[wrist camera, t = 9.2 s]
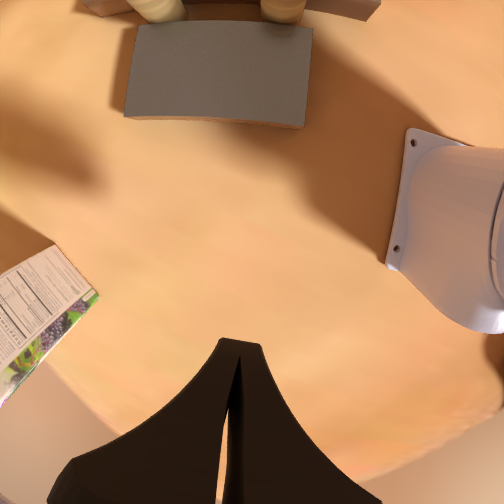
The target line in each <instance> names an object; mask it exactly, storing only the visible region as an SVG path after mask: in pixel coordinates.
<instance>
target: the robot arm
mask: <svg viewBox="0 0 504 504" xmlns="http://www.w3.org/2000/svg"><path fill="white" fill-rule="evenodd" d="M412 139H413V140H414V142H415V144H414V146H412V145H411V140H412ZM396 245H398V249H397V250H396V251H393V249H394V247H395V246H396ZM385 265H386V267H387V268H388V269H389V270H395V271H400V272H401V273H402V274H403V275H404V276H405V277H406V278H407V279H408V280H409V281H410V282H411V283H412V284H413V285H414V286H415V287H416V288H417V289H418V290H419V291H420V292H421V293H422V294H423V295H424V296H425V297H426V298H427V299H428V300H429V301H430V302H431V303H432V304H433V305H434V306H435V307H436V308H437V309H438V310H439V311H440V312H441V313H442V314H444V315H445V316H446V317H448V318H449V319H451V320H453V321H454V322H456V323H458V324H460V325H462V326H464V327H466V328H468V329H471V330H474V331H478V332H482V333H488V334H500V333H504V149H498V148H486V147H472V146H467V145H464V144H461V143H459V142H456V141H453V140H451V139H448V138H445V137H442V136H439V135H436V134H433V133H430V132H427V131H424V130H420V129H417V128H409V129H408V130H407V131H406V137H405V147H404V157H403V165H402V173H401V180H400V187H399V194H398V200H397V206H396V211H395V217H394V222H393V227H392V232H391V237H390V242H389V247H388V251H387V256H386V260H385ZM227 411H228V436H227V467H226V476H225V484H224V491H223V499H222V504H382V501H381V500H379V499H378V498H376V497H375V496H373V495H372V494H370V493H369V492H367V491H366V490H365V489H363V488H362V487H360V486H359V485H358V484H356V483H355V482H353V481H352V480H351V479H350V478H349V477H347V476H346V475H345V474H344V473H343V472H342V471H341V470H339V469H338V468H337V467H336V466H335V465H334V464H333V463H332V462H331V461H330V460H329V459H328V458H327V457H326V455H325V454H324V453H323V452H322V451H321V450H320V449H319V448H318V447H317V446H316V445H315V444H314V442H313V441H312V440H311V439H310V437H309V436H308V435H307V434H306V432H305V431H304V430H303V428H302V427H301V426H300V424H299V423H298V421H297V420H296V418H295V417H294V415H293V414H292V412H291V411H290V409H289V407H288V406H287V404H286V402H285V400H284V399H283V397H282V395H281V393H280V391H279V389H278V387H277V385H276V383H275V381H274V379H273V377H272V374H271V372H270V370H269V367H268V365H267V362H266V359H265V356H264V353H263V350H262V347H261V345H260V344H258V343H251V342H246V341H240V340H234V339H229V338H221V339H219V341H218V343H217V345H216V347H215V349H214V351H213V352H212V354H211V355H210V357H209V358H208V360H207V361H206V363H205V364H204V365H203V366H202V368H201V369H200V370H199V372H198V373H197V374H196V375H195V376H194V378H193V379H192V380H191V381H190V382H189V383H188V384H187V385H186V386H185V387H184V388H183V389H182V390H181V391H180V392H179V393H178V394H177V395H176V396H175V397H174V398H173V399H172V400H171V401H170V402H169V403H168V404H166V405H165V406H164V407H163V408H162V409H160V410H159V411H158V412H157V413H155V414H154V415H153V416H151V417H150V418H149V419H147V420H146V421H145V422H143V423H142V424H140V425H139V426H137V427H136V428H134V429H132V430H131V431H129V432H127V433H126V434H124V435H122V436H120V437H119V438H117V439H115V440H113V441H111V442H110V443H108V444H106V445H104V446H101V447H99V448H97V449H95V450H92V451H90V452H87V453H85V454H82V455H80V456H78V457H75V458H73V459H71V460H70V461H69V463H68V464H67V465H66V466H65V468H64V469H63V471H62V472H61V473H60V475H59V476H58V477H57V479H56V481H55V483H54V485H53V487H52V489H51V492H50V494H49V496H48V498H47V503H48V504H215V500H216V490H217V480H218V470H219V461H220V452H221V444H222V435H223V427H224V423H225V419H226V415H227ZM0 504H15V503H13V502H12V501H10V500H9V499H8V498H6V497H5V496H4V495H2V494H1V493H0Z"/></svg>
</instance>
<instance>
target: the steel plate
mask: <svg viewBox="0 0 504 504" xmlns="http://www.w3.org/2000/svg"><path fill="white" fill-rule="evenodd" d="M312 36H313V29H311V28H305V27H298V26H291V25H284V24H275V23H265V22H252V21H231V20H197V21H177V22H164V23H154V24H145V25H139V27H138V32H137V36H136V41H135V46H134V51H133V56H132V62H131V67H130V73H129V80H128V86H127V93H126V101H125V109H124V117H126V118H131V119H135V120H199V121H219V122H233V123H246V124H256V125H266V126H274V127H283V128H290V129H297V130H300V129H301V128H303V127H304V123H305V113H306V104H307V94H308V83H309V72H310V61H311V49H312Z"/></svg>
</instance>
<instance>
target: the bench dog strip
mask: <svg viewBox="0 0 504 504" xmlns="http://www.w3.org/2000/svg"><path fill="white" fill-rule="evenodd" d="M206 3H245V4H261V22H265V23H275V24H284V25H291V26H298V27H299V24H300V21H301V18H302V14H303V11H304V9H308V10H314V11H320V12H325V13H331V14H335V15H340V16H345V17H349V18H353V19H357V20H361V21H365V22H366V21H367V20H368V18H369V17H370V16H371V15H372V14H373V13H374V11H375V10H376V9H377V8H378V7H379V6H380V4H381V0H83V2H82V4H83V5H85V6H86V7H88V8H89V9H91V10H92V11H94V12H95V13H97V14H98V15H99V16H101V17H102V18H103V17H107V16H112V15H116V14H121V13H126V12H132V11H137V12H138V13H139V14H140V15H141V16H142V17H143V18H144V19H145V20H146V21H147V22H148V23H149V24H154V23H164V22H177V21H188V18H189V14H188V12H187V10H186V8H185V6H184V5H187V4H206Z"/></svg>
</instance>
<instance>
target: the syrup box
mask: <svg viewBox="0 0 504 504" xmlns="http://www.w3.org/2000/svg"><path fill="white" fill-rule="evenodd" d="M99 298H100V296H99V294H98V293H97V292H96V291H95V290H94V288H93V287H92V286H91V285H90V284H89V283H88V282H87V281H86V280H85V278H84V277H83V276H82V275H81V274H80V273H79V272H78V270H77V269H76V268H75V267H74V266H73V265H72V263H71V262H70V261H69V260H68V259H67V258H66V257H65V255H64V254H63V253H62V252H61V251H60V249H59V248H58V247H57V246H56V245H55V244H54V245H52V246H50V247H48V248H46V249H44V250H42V251H41V252H39V253H37V254H35V255H33V256H31V257H29V258H28V259H26V260H24V261H22V262H20V263H18V264H17V265H15V266H13V267H12V268H10V269H8V270H7V271H5V272H3V273H1V274H0V408H1V406H2V405H3V404H4V403H5V402H6V401H7V399H8V398H9V397H10V396H11V395H12V394H13V393H14V391H15V390H16V389H17V388H18V387H19V386H20V385H21V384H22V383H23V382H24V381H25V379H27V377H28V376H29V375H30V374H31V373H32V372H33V371H34V370H35V368H36V367H37V366H38V365H39V364H40V363H41V362H42V360H43V359H44V358H45V357H46V356H47V355H48V354H49V353H50V352H51V350H52V349H53V348H54V347H55V346H56V345H57V344H58V343H59V342H60V341H61V340H62V338H63V337H64V336H65V335H66V334H67V333H68V332H69V331H70V330H71V329H72V328H73V327H74V326H75V325H76V324H77V323H78V322H79V321H80V319H81V318H82V317H83V316H84V315H85V314H86V313H87V311H88V310H89V309H90V308H91V307H92V306H93V305H94V304H95V302H96V301H97V300H98V299H99Z"/></svg>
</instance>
